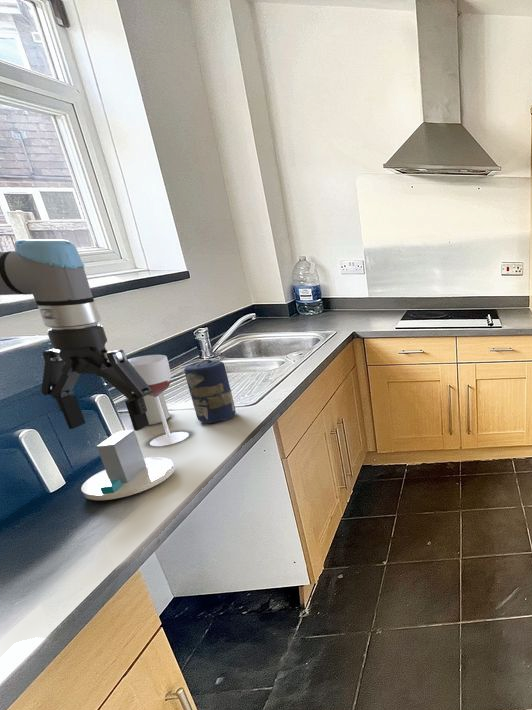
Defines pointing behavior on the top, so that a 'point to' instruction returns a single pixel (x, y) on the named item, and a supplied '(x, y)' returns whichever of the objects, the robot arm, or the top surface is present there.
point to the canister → (210, 391)
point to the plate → (135, 484)
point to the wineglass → (157, 390)
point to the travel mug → (155, 409)
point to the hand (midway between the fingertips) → (109, 427)
